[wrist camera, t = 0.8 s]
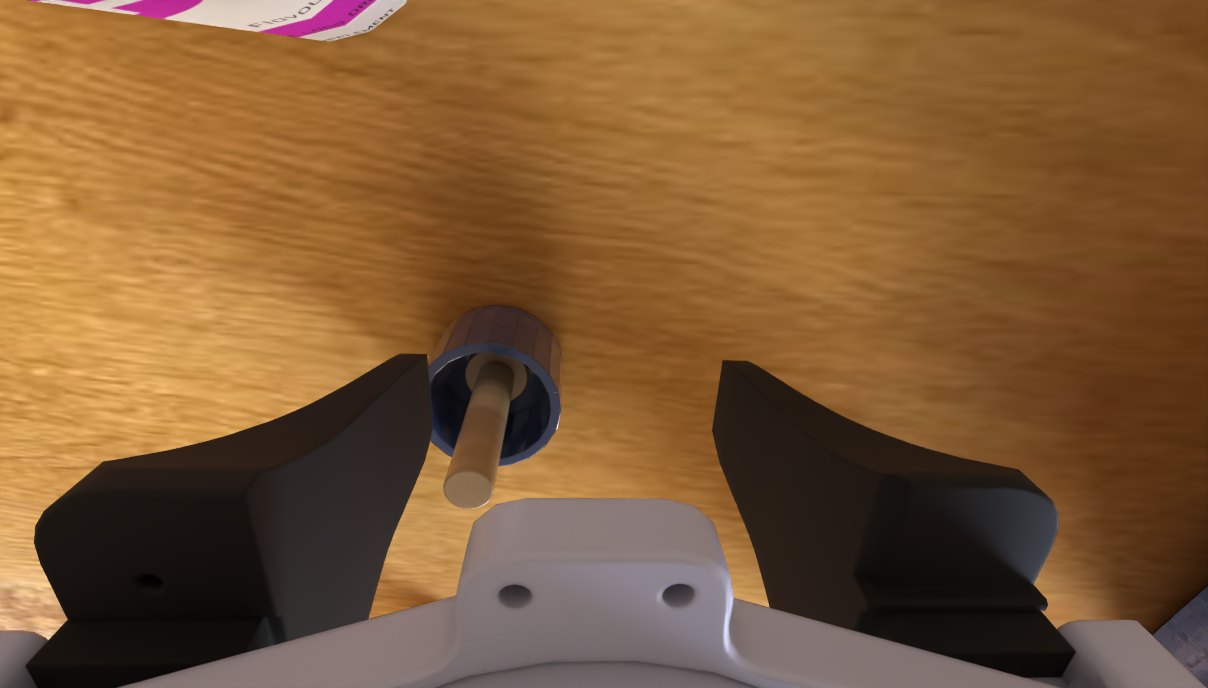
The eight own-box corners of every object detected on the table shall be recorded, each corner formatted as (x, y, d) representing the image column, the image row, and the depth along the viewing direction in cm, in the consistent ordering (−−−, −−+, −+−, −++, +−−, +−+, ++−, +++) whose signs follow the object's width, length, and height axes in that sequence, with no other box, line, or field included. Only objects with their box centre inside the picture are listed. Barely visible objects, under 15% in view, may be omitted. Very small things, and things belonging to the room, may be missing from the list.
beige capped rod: (539, 381, 25) (526, 506, 18) (485, 402, 25) (451, 534, 18) (512, 331, 24) (486, 442, 17) (456, 354, 24) (407, 473, 17)
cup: (581, 389, 26) (583, 438, 22) (474, 432, 26) (459, 485, 23) (528, 285, 24) (521, 320, 20) (412, 334, 24) (386, 376, 21)
